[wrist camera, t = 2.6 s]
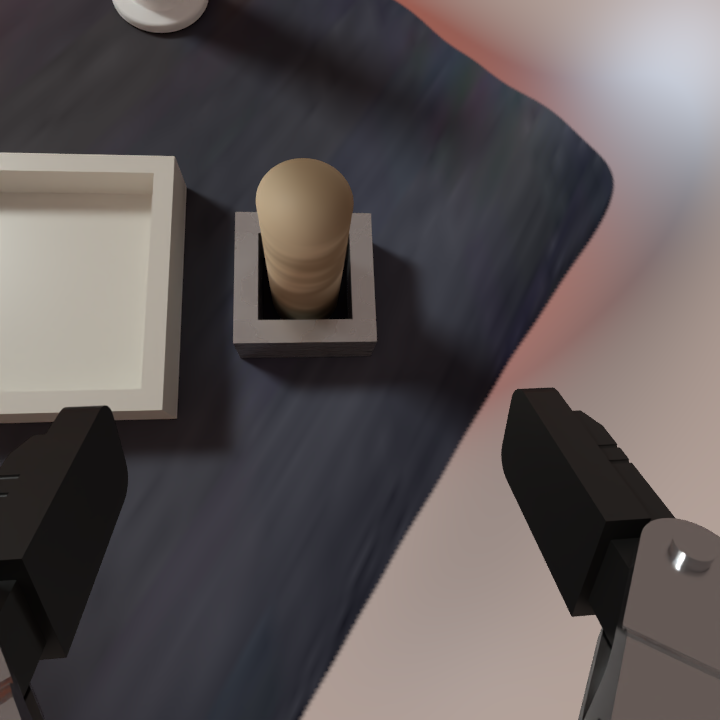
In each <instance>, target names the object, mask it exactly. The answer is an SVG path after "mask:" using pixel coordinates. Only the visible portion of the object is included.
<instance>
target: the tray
mask: <svg viewBox="0 0 720 720" xmlns="http://www.w3.org/2000/svg"><path fill="white" fill-rule="evenodd" d="M186 192H187V187H186V184H185V182H184V179H183V176H182V174H181V171H180V169H179V166H178V164H177V161H176V159H175V156H138V155H90V154H42V153H0V423H30V422H54V420H55V419H56V417H57V415H58V414H59V412H60V411H61V410H62V409H63V408H65V407H79V406H103V405H106V406H108V407H109V408H110V409H111V411H112V413H113V416H114V420H145V419H177V408H178V384H179V360H180V336H181V312H182V288H183V264H184V240H185V216H186Z"/></svg>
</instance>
